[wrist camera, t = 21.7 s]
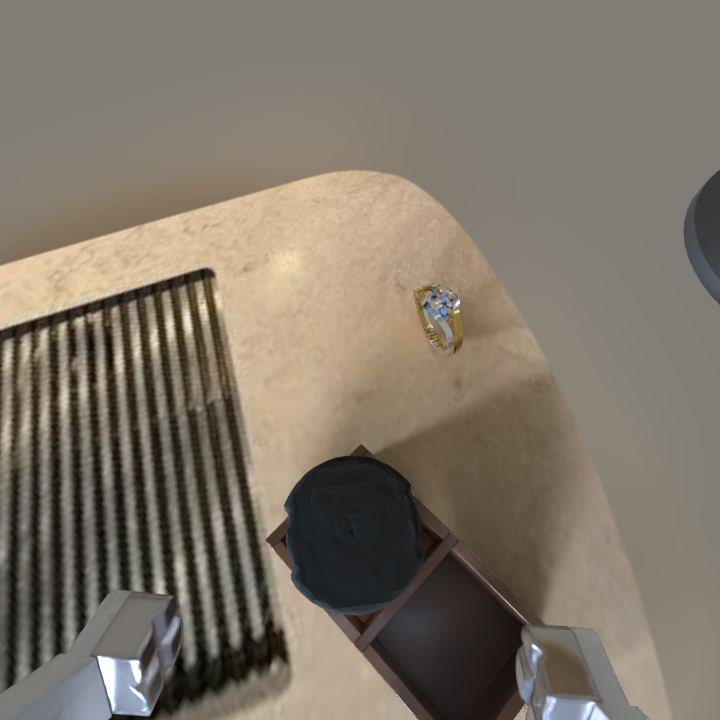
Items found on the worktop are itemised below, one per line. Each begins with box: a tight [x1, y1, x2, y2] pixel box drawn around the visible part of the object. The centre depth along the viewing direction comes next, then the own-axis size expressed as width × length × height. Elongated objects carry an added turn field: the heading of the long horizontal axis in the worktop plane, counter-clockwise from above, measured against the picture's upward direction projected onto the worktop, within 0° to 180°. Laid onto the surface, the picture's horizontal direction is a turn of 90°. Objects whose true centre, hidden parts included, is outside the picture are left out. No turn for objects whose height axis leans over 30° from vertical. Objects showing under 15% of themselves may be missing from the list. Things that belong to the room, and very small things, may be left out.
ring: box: [413, 283, 463, 358], centre depth 42 cm, size 7×3×8 cm, turn 20°
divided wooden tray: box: [266, 444, 546, 720], centre depth 35 cm, size 19×10×6 cm, turn 45°
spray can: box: [284, 456, 425, 615], centre depth 29 cm, size 7×7×20 cm
